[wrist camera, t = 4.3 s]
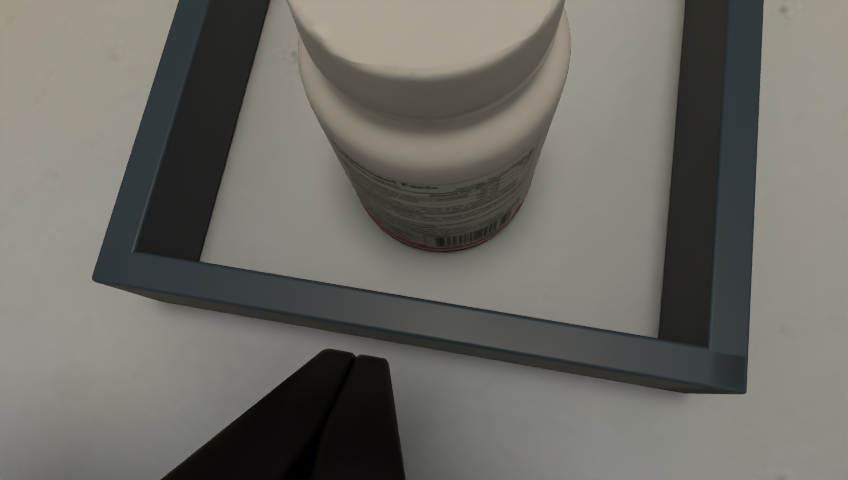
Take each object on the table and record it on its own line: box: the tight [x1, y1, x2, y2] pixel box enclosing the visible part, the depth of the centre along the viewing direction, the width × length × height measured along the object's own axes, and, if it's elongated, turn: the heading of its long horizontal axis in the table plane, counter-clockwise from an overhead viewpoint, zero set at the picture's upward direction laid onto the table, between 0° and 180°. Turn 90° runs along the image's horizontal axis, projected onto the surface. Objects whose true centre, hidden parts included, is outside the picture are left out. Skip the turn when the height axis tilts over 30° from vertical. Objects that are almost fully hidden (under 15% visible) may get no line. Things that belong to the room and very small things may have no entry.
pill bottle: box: [287, 0, 571, 251], centre depth 12 cm, size 5×5×8 cm
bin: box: [92, 0, 764, 394], centre depth 15 cm, size 18×14×3 cm
